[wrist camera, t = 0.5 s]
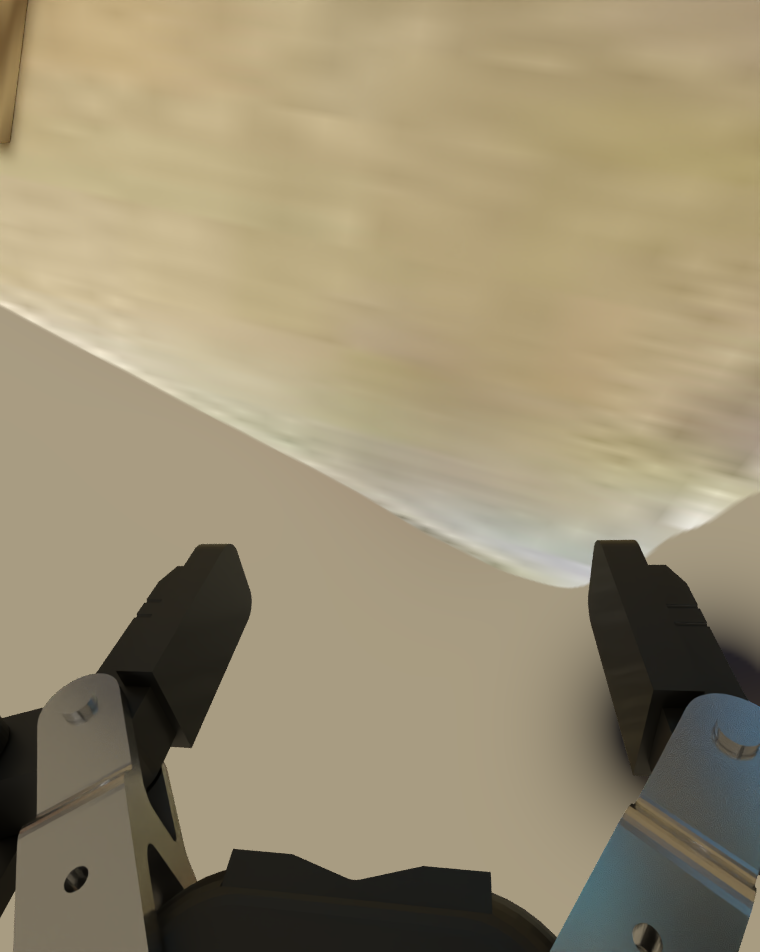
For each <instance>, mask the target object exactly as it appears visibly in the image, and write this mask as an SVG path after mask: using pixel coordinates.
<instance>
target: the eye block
mask: <svg viewBox="0 0 760 952" xmlns="http://www.w3.org/2000/svg"><path fill="white" fill-rule="evenodd" d="M27 2H28V0H0V143H6V142H10V137H11V129H12V121H13V113H14V105H15V97H16V89H17V81H18V73H19V65H20V57H21V49H22V41H23V33H24V26H25V18H26V10H27Z"/></svg>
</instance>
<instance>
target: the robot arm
mask: <svg viewBox="0 0 760 952" xmlns="http://www.w3.org/2000/svg"><path fill="white" fill-rule="evenodd" d="M251 603H252V599H251V592H250V589H249V586H248V583H247V580H246V577H245V574H244V571H243V568H242V565H241V562H240V559H239V555H238V553H237V550H236V548H235V547H234V545H232V544H201V545H199V546H197V547H196V548H195V550H194V551H193V553H192V554H191V556H190V558H189V559H188V561H187V562H186V563H185V565H184V566H177V567H176V568H175V569H174V570H172V571H171V572H170V573H169V574H168V575H167V576H165V577H164V578H163V579H162V580H160V581H159V582H158V584H157V585H156V587H155V588H154V590H153V591H152V592H151V594H150V595H149V597H148V598H147V603H144V604H143V606H142V607H141V608H140V610H139V611H138V613H137V617H136V618H134V619H133V620H132V622H131V623H130V625H129V626H128V628H127V629H126V631H125V632H124V633H123V635H122V636H121V638H120V639H119V641H118V642H117V644H116V645H115V646H114V648H113V650H112V651H111V652H110V654H109V655H108V657H107V658H106V660H105V661H104V662H103V664H102V665H101V667H100V668H99V670H98V671H97V673H96V674H90V675H87V676H83V677H81V678H78V679H76V680H74V681H72V682H70V683H69V684H68V685H66V686H64V687H63V688H62V689H60V690H59V691H58V692H57V693H56V694H54V695H53V696H52V697H51V699H50V700H49V701H48V702H47V703H46V705H45V706H44V708H40V709H36V710H32V711H29V712H24V713H20V714H17V715H12V716H9V717H5V718H1V717H0V917H1V915H2V914H3V912H4V910H5V908H6V906H7V904H8V902H9V901H10V899H11V897H12V895H13V893H14V892H16V893H15V918H14V919H15V920H14V947H13V952H738V951H739V948H740V945H741V942H742V939H743V935H744V932H745V929H746V926H747V923H748V920H749V917H750V913H751V910H752V907H753V903H754V899H755V896H756V888H755V883H756V879H757V876H758V875H760V707H758V706H757V705H755V704H753V703H751V702H749V701H748V699H747V697H746V696H745V694H744V693H743V691H742V689H741V687H740V685H739V683H738V681H737V679H736V677H735V675H734V673H733V671H732V669H731V668H730V666H729V664H728V662H727V660H726V658H725V656H724V654H723V652H722V650H721V648H720V647H719V645H718V643H717V641H716V639H715V637H714V635H713V633H712V631H711V629H710V627H707V622H706V620H705V618H704V616H703V614H702V612H701V610H700V609H698V607H697V602H696V601H695V599H694V597H693V595H692V593H691V591H690V589H689V587H688V585H687V583H686V582H685V581H683V580H682V579H681V578H680V577H679V576H678V575H677V574H675V573H674V572H673V571H672V570H671V569H670V568H669V567H667V566H666V565H648V564H647V562H646V559H645V557H644V555H643V553H642V551H641V548H640V546H639V544H638V543H637V541H635V540H597V541H596V542H595V545H594V552H593V560H592V568H591V577H590V585H589V594H588V607H589V616H590V622H591V626H592V629H593V633H594V636H595V640H596V644H597V648H598V651H599V655H600V658H601V662H602V666H603V669H604V673H605V676H606V680H607V684H608V687H609V691H610V694H611V698H612V701H613V705H614V709H615V712H616V716H617V719H618V723H619V727H620V730H621V734H622V737H623V741H624V745H625V748H626V752H627V755H628V759H629V763H630V766H631V770H632V773H633V775H637V776H650V777H649V779H648V781H647V783H646V785H645V787H644V789H643V790H642V792H641V794H640V796H639V798H638V800H637V801H636V803H635V804H631V805H630V806H629V807H628V808H627V810H626V811H625V813H624V815H623V816H622V818H621V820H620V821H619V823H618V825H617V827H616V829H615V831H614V833H613V835H612V836H611V839H610V840H609V842H608V844H607V846H606V848H605V849H604V851H603V853H602V855H601V857H600V859H599V861H598V862H597V864H596V866H595V868H594V870H593V872H592V874H591V876H590V877H589V879H588V881H587V883H586V885H585V887H584V888H583V890H582V892H581V894H580V896H579V898H578V900H577V902H576V903H575V905H574V907H573V909H572V911H571V913H570V915H569V916H568V918H567V920H566V922H565V924H564V926H563V928H562V929H561V932H560V933H559V935H558V937H556V936H555V935H554V934H553V933H552V932H551V931H550V930H549V929H548V928H547V927H546V926H544V925H543V924H542V923H541V922H540V921H539V920H537V919H536V918H535V917H534V916H532V915H531V914H530V913H528V912H527V911H526V910H524V909H523V908H521V907H519V906H518V905H516V904H514V903H513V902H511V901H509V900H508V899H505V898H503V897H500V896H498V895H496V894H494V893H492V891H491V873H490V872H482V871H471V870H460V869H449V868H437V867H427V866H422V867H417V868H413V869H408V870H403V871H398V872H394V873H389V874H384V875H380V876H375V877H371V878H366V879H361V880H351V879H347V878H345V877H343V876H341V875H338V874H336V873H334V872H332V871H329V870H327V869H325V868H322V867H320V866H318V865H316V864H313V863H311V862H309V861H307V860H304V859H302V858H300V857H297V856H295V855H292V854H284V853H272V852H261V851H250V850H238V849H233V851H232V854H231V857H230V860H229V863H228V866H227V869H226V870H225V871H221V872H218V873H216V874H213V875H210V876H207V877H205V878H203V879H201V880H199V881H197V880H196V877H195V874H194V872H193V869H192V867H191V865H190V863H189V860H188V857H187V854H186V850H185V847H184V842H183V838H182V833H181V829H180V824H179V820H178V816H177V811H176V806H175V802H174V797H173V793H172V789H171V784H170V780H169V776H168V771H167V767H166V765H165V763H164V759H165V757H166V755H167V753H168V751H169V749H170V747H184V748H192V746H193V744H194V741H195V739H196V737H197V734H198V732H199V730H200V728H201V725H202V723H203V721H204V718H205V716H206V714H207V712H208V710H209V707H210V705H211V703H212V700H213V698H214V696H215V694H216V692H217V689H218V687H219V685H220V682H221V680H222V678H223V676H224V673H225V671H226V669H227V667H228V664H229V662H230V660H231V658H232V655H233V653H234V651H235V648H236V646H237V644H238V642H239V639H240V637H241V635H242V632H243V630H244V628H245V626H246V624H247V621H248V619H249V616H250V612H251Z"/></svg>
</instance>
